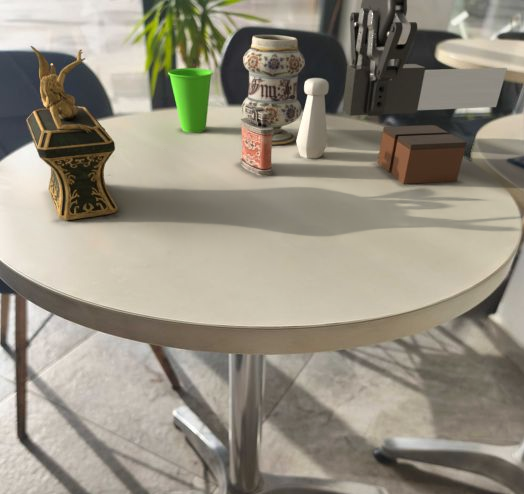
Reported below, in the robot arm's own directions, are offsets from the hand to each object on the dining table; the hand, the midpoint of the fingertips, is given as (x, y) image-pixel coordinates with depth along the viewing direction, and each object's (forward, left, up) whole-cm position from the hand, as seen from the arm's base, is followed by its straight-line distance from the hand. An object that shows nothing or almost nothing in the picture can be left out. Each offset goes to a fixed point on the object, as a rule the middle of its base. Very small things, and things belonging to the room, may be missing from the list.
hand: (368, 111), depth 62 cm
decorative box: (+38, -15, -15) cm, 44 cm away
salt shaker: (-3, -30, -15) cm, 34 cm away
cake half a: (-19, -15, -14) cm, 28 cm away
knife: (-7, 0, 0) cm, 8 cm away
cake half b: (-19, -21, -14) cm, 32 cm away
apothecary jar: (+2, -42, -15) cm, 45 cm away
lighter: (+9, -24, -15) cm, 30 cm away
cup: (+17, -51, -15) cm, 56 cm away
